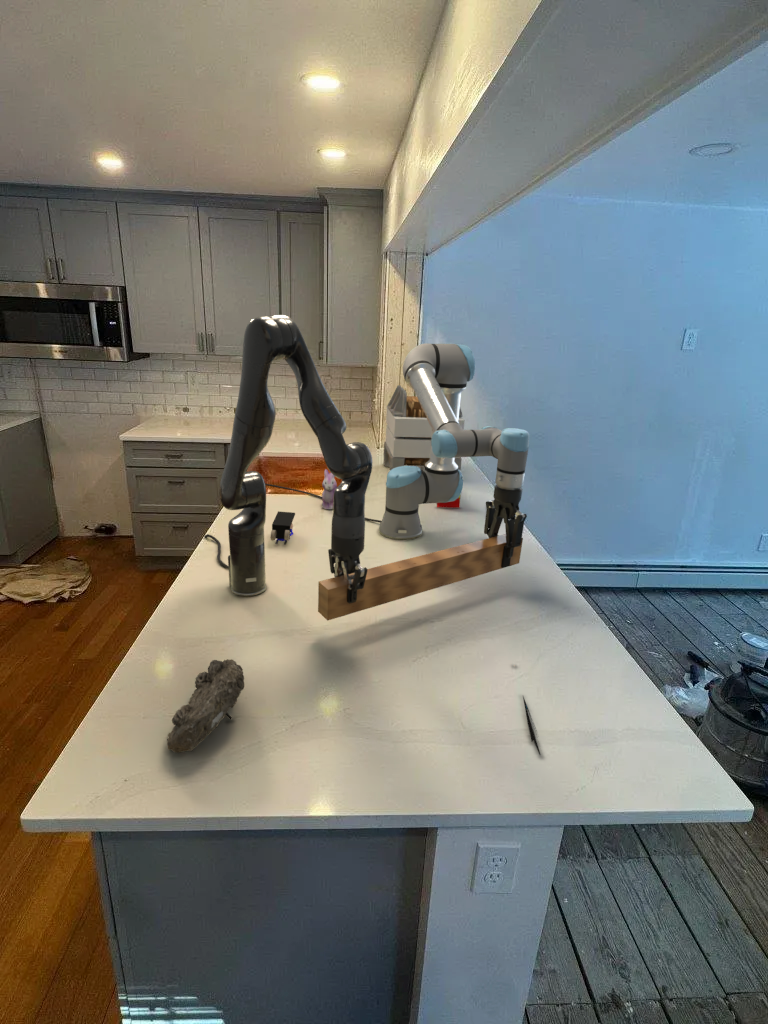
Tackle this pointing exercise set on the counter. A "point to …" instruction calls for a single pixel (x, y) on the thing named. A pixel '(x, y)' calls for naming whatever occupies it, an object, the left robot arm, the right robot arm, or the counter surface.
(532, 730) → the feather
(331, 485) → the figurine
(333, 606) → the bar
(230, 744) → the counter surface
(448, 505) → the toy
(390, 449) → the grey crate
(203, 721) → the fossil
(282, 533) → the black wheeled block
